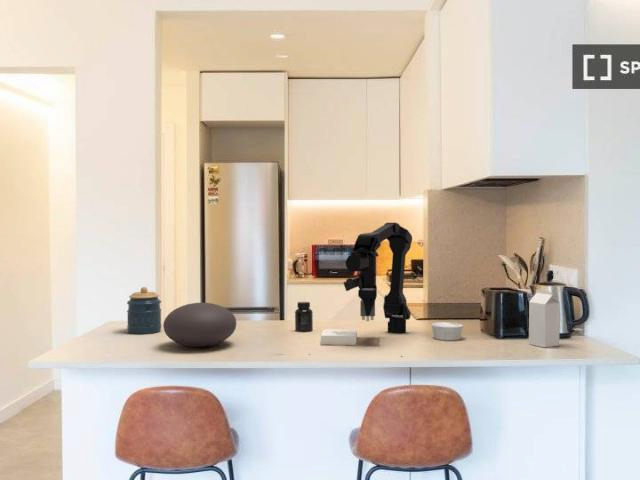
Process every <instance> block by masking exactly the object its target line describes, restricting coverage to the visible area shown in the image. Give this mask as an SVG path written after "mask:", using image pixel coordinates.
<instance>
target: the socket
mask: <svg viewBox="0 0 640 480" xmlns="http://www.w3.org/2000/svg"><path fill="white" fill-rule="evenodd" d="M357 337H358V330H357V329H323V331H322V333H321V334H320V345H321V344H333V345H356V342H357Z"/></svg>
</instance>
